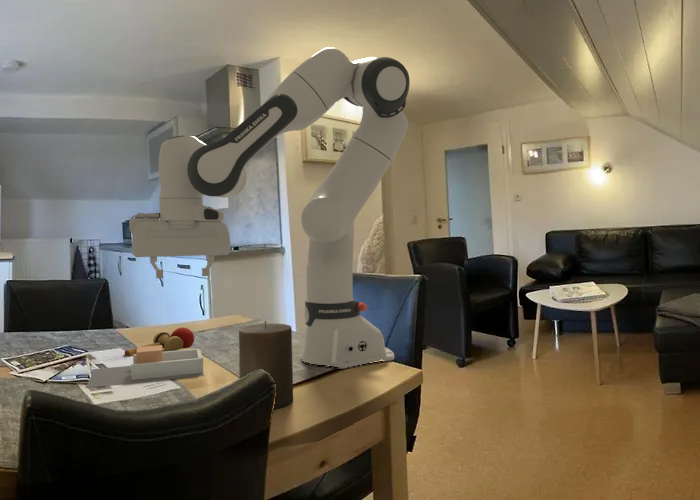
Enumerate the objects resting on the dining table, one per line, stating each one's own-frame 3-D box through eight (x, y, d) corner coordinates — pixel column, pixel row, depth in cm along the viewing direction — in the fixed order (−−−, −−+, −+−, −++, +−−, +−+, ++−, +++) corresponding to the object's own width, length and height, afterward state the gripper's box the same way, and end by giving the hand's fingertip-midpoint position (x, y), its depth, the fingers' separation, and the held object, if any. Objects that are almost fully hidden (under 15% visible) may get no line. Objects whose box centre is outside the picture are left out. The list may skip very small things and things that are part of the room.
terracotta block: (162, 367, 113) (162, 345, 113) (162, 373, 108) (162, 350, 108) (138, 370, 111) (137, 347, 111) (137, 376, 107) (136, 352, 106)
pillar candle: (296, 407, 92) (295, 323, 91) (240, 412, 89) (239, 326, 89) (289, 391, 101) (288, 315, 100) (238, 395, 99) (237, 317, 98)
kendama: (139, 370, 122) (203, 345, 136) (132, 344, 122) (197, 322, 135) (123, 370, 127) (187, 346, 141) (117, 346, 127) (181, 324, 140)
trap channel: (199, 365, 120) (199, 346, 120) (204, 382, 107) (203, 361, 107) (94, 375, 113) (94, 355, 112) (85, 395, 99) (84, 372, 99)
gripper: (128, 212, 104) (130, 280, 105) (231, 212, 111) (232, 276, 112) (129, 213, 110) (131, 278, 111) (227, 213, 117) (228, 274, 118)
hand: (183, 277), depth 111 cm, fingers open, 8 cm apart
